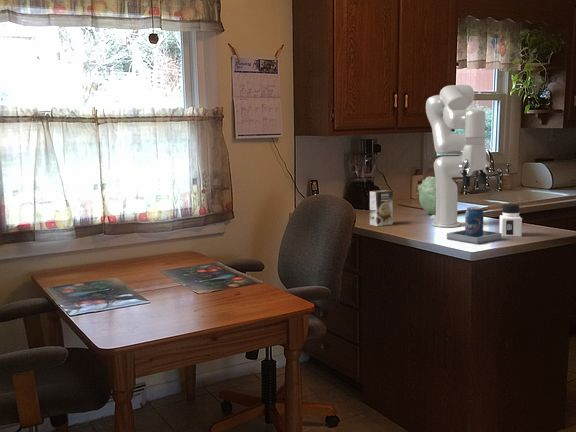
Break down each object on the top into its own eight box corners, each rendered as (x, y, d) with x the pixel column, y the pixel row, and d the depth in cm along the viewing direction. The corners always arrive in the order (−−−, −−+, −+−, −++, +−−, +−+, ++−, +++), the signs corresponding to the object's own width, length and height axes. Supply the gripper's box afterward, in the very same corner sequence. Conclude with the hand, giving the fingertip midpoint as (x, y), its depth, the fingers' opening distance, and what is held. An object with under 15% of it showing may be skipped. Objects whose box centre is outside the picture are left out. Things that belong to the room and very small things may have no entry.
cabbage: (454, 217, 304) (454, 177, 301) (415, 216, 310) (415, 177, 307) (456, 213, 318) (457, 174, 315) (419, 212, 325) (419, 174, 322)
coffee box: (377, 226, 286) (377, 192, 283) (369, 224, 291) (368, 190, 289) (393, 224, 290) (393, 190, 287) (385, 222, 295) (384, 189, 293)
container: (521, 236, 250) (522, 204, 248) (501, 236, 251) (502, 205, 250) (518, 233, 257) (519, 202, 255) (499, 233, 259) (499, 202, 257)
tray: (446, 239, 250) (446, 233, 249) (471, 234, 258) (471, 228, 258) (477, 244, 237) (477, 238, 237) (501, 239, 246) (501, 233, 245)
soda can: (464, 238, 246) (464, 209, 244) (465, 235, 252) (466, 206, 251) (482, 239, 243) (482, 209, 242) (483, 236, 250) (484, 207, 248)
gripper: (481, 140, 250) (480, 182, 252) (452, 142, 240) (452, 186, 243) (497, 140, 244) (496, 183, 246) (468, 143, 234) (467, 187, 237)
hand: (474, 185), depth 245 cm, fingers open, 9 cm apart
